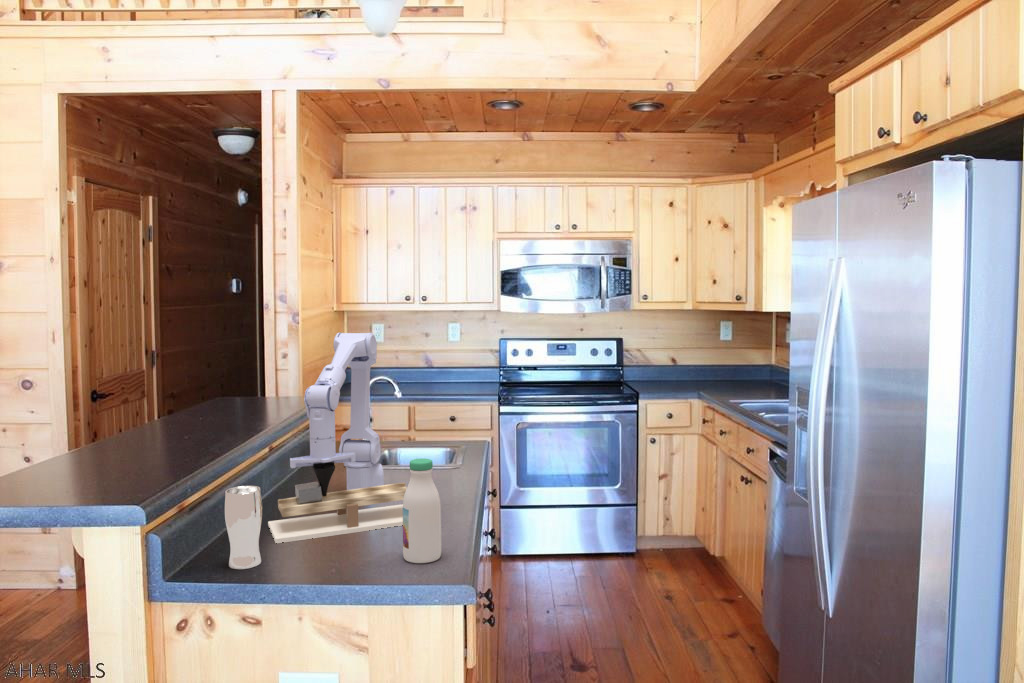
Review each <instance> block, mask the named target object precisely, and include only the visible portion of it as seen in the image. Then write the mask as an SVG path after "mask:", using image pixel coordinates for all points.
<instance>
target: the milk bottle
mask: <svg viewBox="0 0 1024 683" xmlns="http://www.w3.org/2000/svg"><path fill="white" fill-rule="evenodd" d="M433 465H434V464H433V460H432V459H430V458H414V459H411V460H410V461H409V472H410V479H409V482H408V484H407V486H406V487H407V489H406V492H405V494H404V499H403V500H402V504H403V526H402V555H403V559H404V560H405V561H407V562H408V563H413V564H427V563H432V562H436V561H437V560H439V559H440V558H441V557H442V511H441V510H442V509H441V508H442V507H441V498H440V494H439V491H438V488H437V487H436V484H435V483H434V480H433V475H432V472H433V470H434V469H433Z"/></svg>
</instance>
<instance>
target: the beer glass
mask: <svg viewBox="0 0 1024 683" xmlns="http://www.w3.org/2000/svg"><path fill="white" fill-rule="evenodd" d="M224 494H225V496H224V498H225V499H224V520H225V526H226V531H227V534H228V535H227V536H228V541H229V546H230V552H229V553H230V554H229V560H228V568H230V569H233V570H247V569H252V568H254V567H257V566H259V565H260V564H261V563H262V557H261V553H260V546H259V545H260V543H259V542H260V535H261V534H260V532H261V526H262V520H263V502H262V493H261V487H260V486H257V485H241V486H239V485H238V486H235V487H230V488H228V489H226V490H225V492H224Z"/></svg>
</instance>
